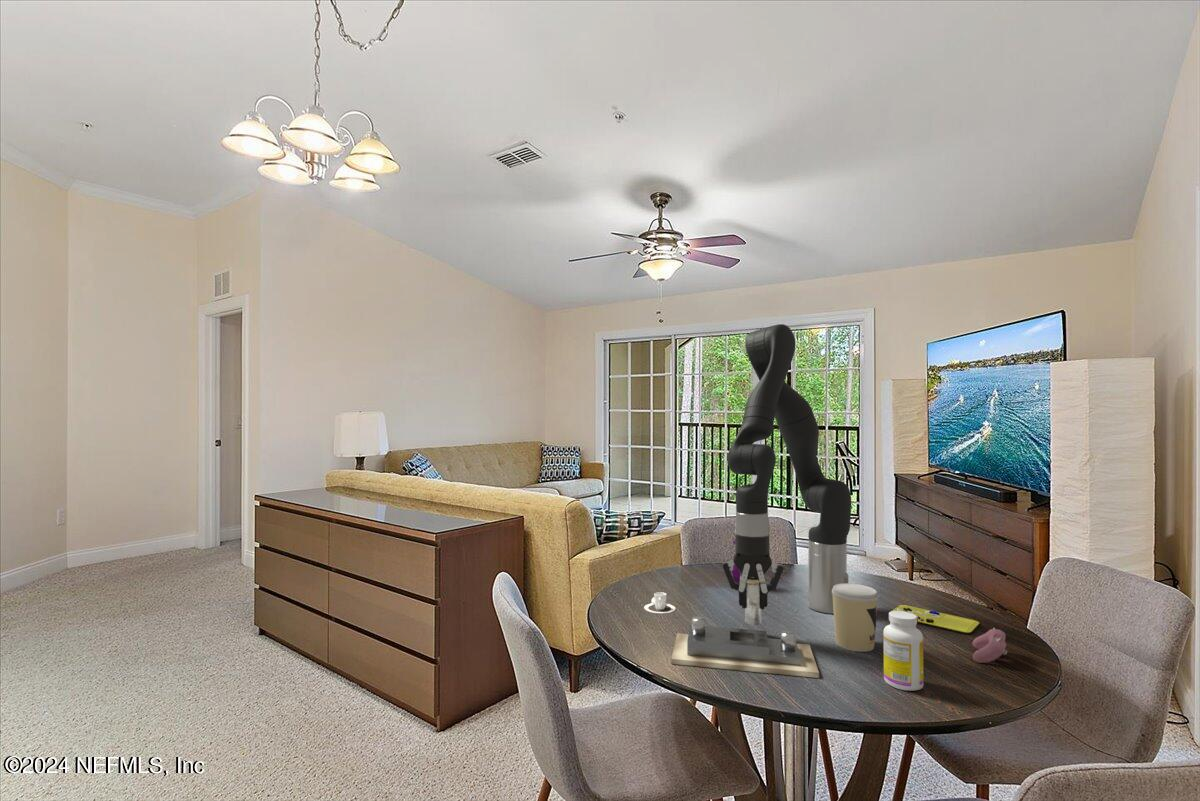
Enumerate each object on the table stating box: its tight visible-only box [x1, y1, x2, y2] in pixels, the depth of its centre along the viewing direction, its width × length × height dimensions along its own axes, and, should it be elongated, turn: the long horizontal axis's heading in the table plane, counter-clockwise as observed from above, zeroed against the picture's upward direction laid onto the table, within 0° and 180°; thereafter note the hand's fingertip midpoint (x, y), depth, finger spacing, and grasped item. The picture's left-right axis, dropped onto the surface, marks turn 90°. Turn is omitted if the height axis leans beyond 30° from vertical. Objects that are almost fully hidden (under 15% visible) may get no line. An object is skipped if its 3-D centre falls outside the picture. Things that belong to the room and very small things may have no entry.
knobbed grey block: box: [687, 616, 801, 666], centre depth 123 cm, size 22×9×6 cm, turn 78°
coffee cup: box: [832, 583, 879, 653], centre depth 130 cm, size 9×9×12 cm
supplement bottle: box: [882, 610, 925, 692], centre depth 111 cm, size 7×7×13 cm
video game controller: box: [972, 627, 1008, 664], centre depth 124 cm, size 10×5×7 cm, turn 148°
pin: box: [744, 577, 762, 626], centre depth 135 cm, size 4×4×10 cm
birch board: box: [670, 632, 820, 679], centre depth 123 cm, size 28×14×1 cm, turn 78°
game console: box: [891, 604, 980, 635], centre depth 146 cm, size 18×11×2 cm, turn 47°
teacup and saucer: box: [643, 591, 676, 614], centre depth 153 cm, size 9×8×4 cm
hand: (752, 607), depth 135 cm, fingers closed on pin, 3 cm apart
